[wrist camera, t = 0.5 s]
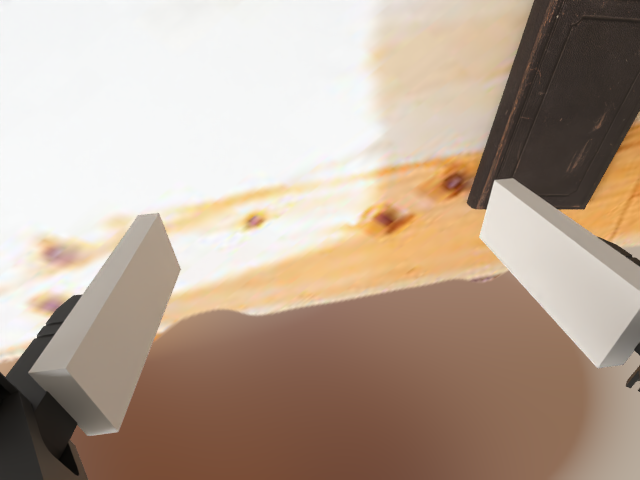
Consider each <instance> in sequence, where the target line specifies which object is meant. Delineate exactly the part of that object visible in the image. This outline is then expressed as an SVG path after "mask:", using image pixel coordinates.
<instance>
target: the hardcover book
mask: <svg viewBox="0 0 640 480" xmlns="http://www.w3.org/2000/svg"><path fill="white" fill-rule="evenodd" d="M639 111H640V0H534V3H533V6H532V9H531V12H530V15H529V18H528V21H527V24H526V27H525V30H524V33H523V36H522V39H521V42H520V45H519V48H518V51H517V54H516V57H515V60H514V63H513V66H512V69H511V72H510V75H509V78H508V81H507V84H506V87H505V90H504V93H503V96H502V99H501V102H500V105H499V108H498V111H497V114H496V117H495V120H494V123H493V126H492V129H491V132H490V135H489V138H488V141H487V144H486V147H485V150H484V153H483V156H482V159H481V161H480V164H479V167H478V170H477V173H476V176H475V179H474V182H473V185H472V188H471V191H470V194H469V197H468V200H467V204H468V205H469V206H470V207H471V208H474V209H487V206H488V202H489V199H490V195H491V191H492V187H493V183H494V180H501V179H511V178H513V179H515V180H516V181H517V182H519V183H520V184H522V185H523V186H525V187H526V188H527V189H529V190H530V191H532V192H533V193H535V194H536V195H538V196H539V197H540V198H542V199H543V200H545V201H546V202H548V203H549V204H550V205H552V206H553V207H555V208H556V209H585V207H586V205H587V204H588V202H589V200H590V198H591V196H592V195H593V193H594V191H595V189H596V188H597V186H598V184H599V182H600V180H601V179H602V177H603V175H604V173H605V172H606V170H607V168H608V166H609V164H610V163H611V161H612V159H613V157H614V155H615V154H616V152H617V150H618V148H619V147H620V145H621V143H622V141H623V139H624V138H625V136H626V134H627V132H628V131H629V129H630V127H631V125H632V123H633V122H634V120H635V118H636V116H637V114H638V113H639Z"/></svg>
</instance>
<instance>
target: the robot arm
mask: <svg viewBox="0 0 640 480" xmlns="http://www.w3.org/2000/svg"><path fill="white" fill-rule="evenodd" d="M479 237H480V239H481V240H482V241H483V242H484V243H485V244H486V245H487V246H488V247H489V249H490V250H491V251H492V252H493V253H494V254H495V255H496V256H497V257H498V259H499V260H500V261H501V262H502V263H503V264H504V265H505V266H506V267H507V268H508V270H509V271H510V272H511V273H512V274H513V275H514V276H515V277H516V278H517V279H518V281H519V282H520V283H521V284H522V285H523V286H524V287H525V288H526V289H527V290H528V292H529V293H530V294H531V295H532V296H533V297H534V298H535V299H536V301H537V302H538V303H539V304H540V305H541V306H542V307H543V308H544V309H545V311H546V312H547V313H548V314H549V315H550V316H551V317H552V318H553V319H554V320H555V322H556V323H557V324H558V325H559V326H560V327H561V328H562V329H563V330H564V332H566V334H567V335H568V336H569V337H570V338H571V339H572V340H573V342H574V343H575V344H576V345H577V346H578V347H579V348H580V349H581V350H582V351H583V353H584V354H585V355H586V356H587V357H588V358H589V359H590V360H591V361H592V363H593V364H594V365H595V366H596V367H597V368H603V367H611V366H618V365H624V363H625V362H626V361H627V359H628V358H629V357H630V356H631V354H632V353H633V352H634V350H635V351H636V352H637V353H638V354H639V355H640V260H638V259H637V258H633V257H632V255H631V254H629V253H628V252H626V251H625V250H624V249H622V248H621V247H619V246H618V245H616V244H613V243H611V242H609V241H607V240H604V239H602V238H600V237H596V236H595V235H593V234H592V233H591V232H589V231H588V230H586V229H585V228H583V227H582V226H581V225H579V224H578V223H576V222H575V221H573V220H572V219H571V218H569V217H568V216H566V215H565V214H563V213H562V212H560V211H559V210H558V209H556V208H555V207H553V206H552V205H550V204H549V203H548V202H546V201H545V200H543V199H542V198H540V197H539V196H538V195H536V194H535V193H533V192H532V191H530V190H529V189H527V188H526V187H525V186H523V185H522V184H520V183H519V182H517V181H516V180H515V179H513V178H511V179H501V180H494V183H493V187H492V191H491V195H490V199H489V202H488V206H487V210H486V214H485V217H484V221H483V225H482V229H481V232H480V236H479ZM180 270H181V269H180V266H179V264H178V261H177V259H176V256H175V254H174V251H173V248H172V246H171V243H170V241H169V238H168V235H167V233H166V230H165V228H164V225H163V222H162V220H161V217H160V215H159V213H157V214H147V215H138V216H137V218H136V219H135V221H134V222H133V224H132V225H131V226H130V228H129V229H128V231H127V232H126V234H125V235H124V236H123V238H122V239H121V241H120V242H119V244H118V245H117V246H116V248H115V249H114V251H113V252H112V254H111V255H110V256H109V258H108V259H107V261H106V262H105V264H104V265H103V266H102V268H101V269H100V271H99V272H98V274H97V275H96V276H95V278H94V279H93V281H92V282H91V284H90V285H89V286H88V288H87V289H86V291H85V292H84V294H83V295H74V296H72V297H71V298H70V299H68V300H67V301H66V302H65V303H64V304H62V305H61V306H60V307H59V308H57V309H56V311H55V312H54V313H53V315H52V316H51V317H50V319H49V320H48V321H47V323H46V326H44V327H43V328H42V329H41V331H40V332H39V333H38V335H37V338H36V339H34V340H33V341H32V343H31V344H30V345H29V346H28V348H27V349H26V350H25V352H24V353H23V354H22V356H21V357H20V358H19V360H18V361H17V362H16V364H15V365H14V366H13V368H12V369H11V370H10V372H9V373H8V374H7V376H6V377H5V376H3V374H2V373H1V372H0V480H88V478H87V475H86V473H85V470H84V467H83V465H82V462H81V460H80V457H79V454H78V452H77V449H76V447H75V445H74V444H73V443H72V442H71V441H70V438H71V436H72V434H73V432H74V430H75V428H76V426H77V425H78V426H79V427H80V428H81V429H82V430H83V431H84V432H85V434H86V435H88V436H92V435H99V434H106V433H113V432H118V431H119V429H120V426H121V423H122V421H123V418H124V416H125V413H126V410H127V408H128V405H129V403H130V400H131V398H132V395H133V392H134V390H135V387H136V384H137V382H138V379H139V377H140V374H141V371H142V369H143V366H144V363H145V361H146V358H147V356H148V353H149V351H150V348H151V345H152V343H153V340H154V338H155V335H156V332H157V330H158V327H159V325H160V322H161V319H162V317H163V314H164V312H165V309H166V306H167V304H168V301H169V299H170V296H171V293H172V291H173V288H174V286H175V283H176V280H177V278H178V275H179V273H180ZM637 381H640V366H639V367H638V368H637V370H636V371H635V372H634V373H633V374H632V375H631V377H630V378H629V379H628V381H627V383H626V387H629V388H631V387H632V386H633V385H634V383H635V382H637ZM638 391H639V392H640V388H639V390H638Z"/></svg>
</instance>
